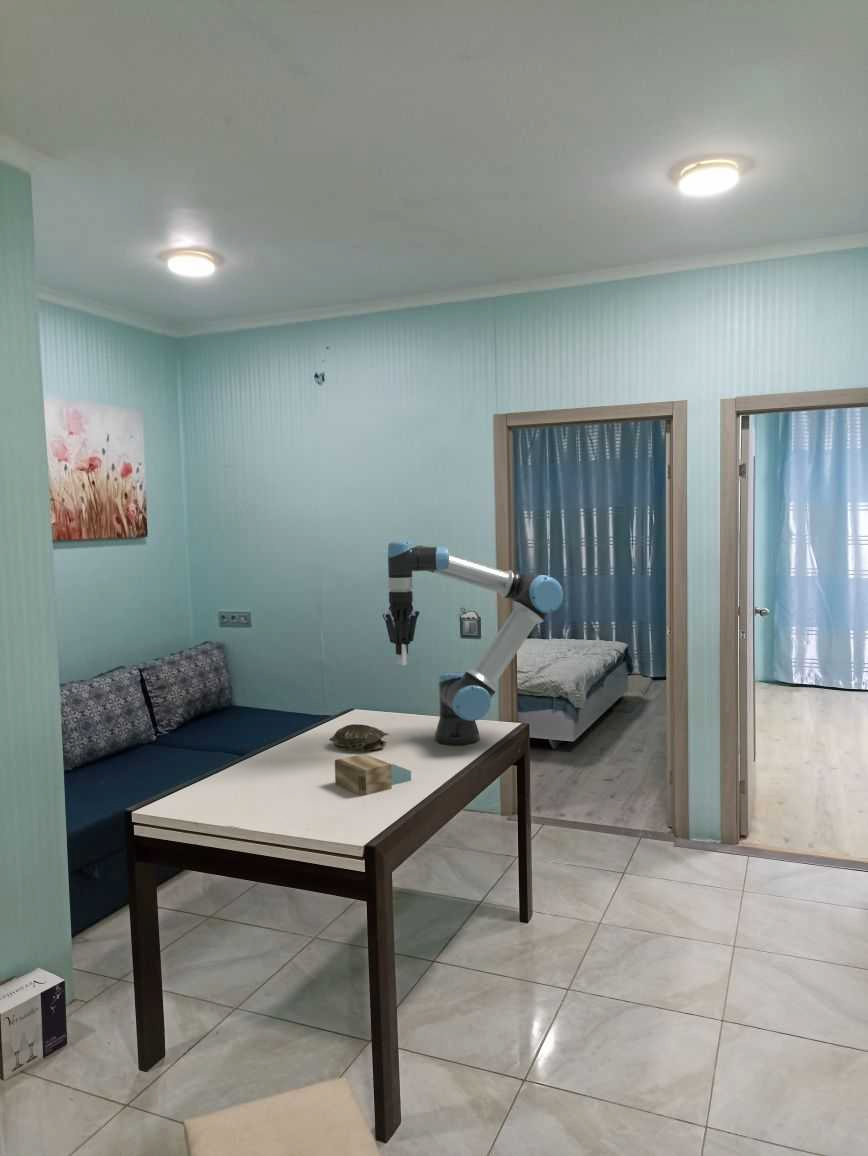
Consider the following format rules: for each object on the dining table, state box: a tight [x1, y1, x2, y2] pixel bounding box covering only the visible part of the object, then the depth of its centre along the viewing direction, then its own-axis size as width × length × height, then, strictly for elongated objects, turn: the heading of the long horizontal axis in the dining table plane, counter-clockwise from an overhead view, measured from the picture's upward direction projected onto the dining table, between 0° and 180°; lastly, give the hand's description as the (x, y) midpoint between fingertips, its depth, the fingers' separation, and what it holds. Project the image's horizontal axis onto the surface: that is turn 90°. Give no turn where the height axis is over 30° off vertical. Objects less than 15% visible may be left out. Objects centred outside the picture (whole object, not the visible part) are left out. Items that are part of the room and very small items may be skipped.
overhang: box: [334, 753, 393, 797], centre depth 245 cm, size 10×14×7 cm
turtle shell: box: [329, 723, 390, 752], centre depth 287 cm, size 16×9×20 cm
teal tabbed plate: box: [391, 763, 412, 786], centre depth 249 cm, size 14×9×3 cm, turn 127°
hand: (402, 664), depth 273 cm, fingers closed
